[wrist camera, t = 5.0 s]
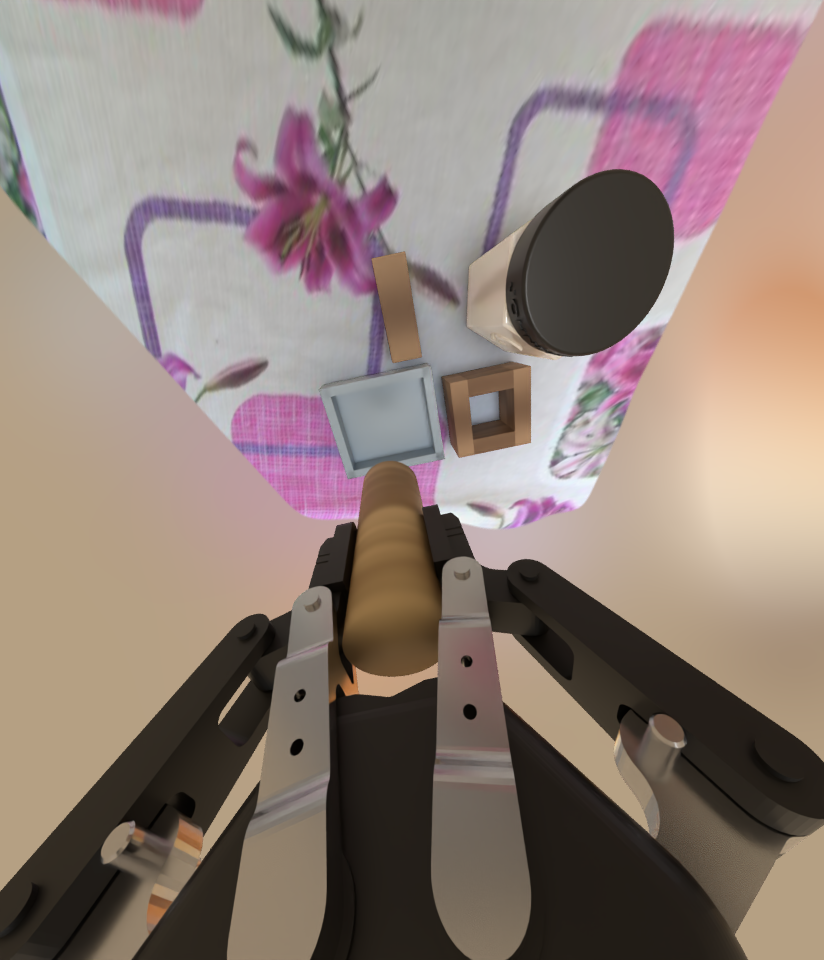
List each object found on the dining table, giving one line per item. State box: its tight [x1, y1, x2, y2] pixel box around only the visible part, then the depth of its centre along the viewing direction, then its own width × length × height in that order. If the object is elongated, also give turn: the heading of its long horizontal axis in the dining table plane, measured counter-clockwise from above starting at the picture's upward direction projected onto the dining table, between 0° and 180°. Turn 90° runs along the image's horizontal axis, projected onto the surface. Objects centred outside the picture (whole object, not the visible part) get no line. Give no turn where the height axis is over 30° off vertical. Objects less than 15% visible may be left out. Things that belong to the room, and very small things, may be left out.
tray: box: [319, 363, 445, 479], centre depth 29 cm, size 9×10×2 cm
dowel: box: [342, 461, 442, 677], centre depth 13 cm, size 3×3×10 cm
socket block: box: [442, 362, 531, 458], centre depth 28 cm, size 7×7×4 cm
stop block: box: [372, 252, 422, 363], centre depth 24 cm, size 7×2×4 cm, turn 11°
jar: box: [467, 169, 674, 360], centre depth 21 cm, size 9×8×12 cm
